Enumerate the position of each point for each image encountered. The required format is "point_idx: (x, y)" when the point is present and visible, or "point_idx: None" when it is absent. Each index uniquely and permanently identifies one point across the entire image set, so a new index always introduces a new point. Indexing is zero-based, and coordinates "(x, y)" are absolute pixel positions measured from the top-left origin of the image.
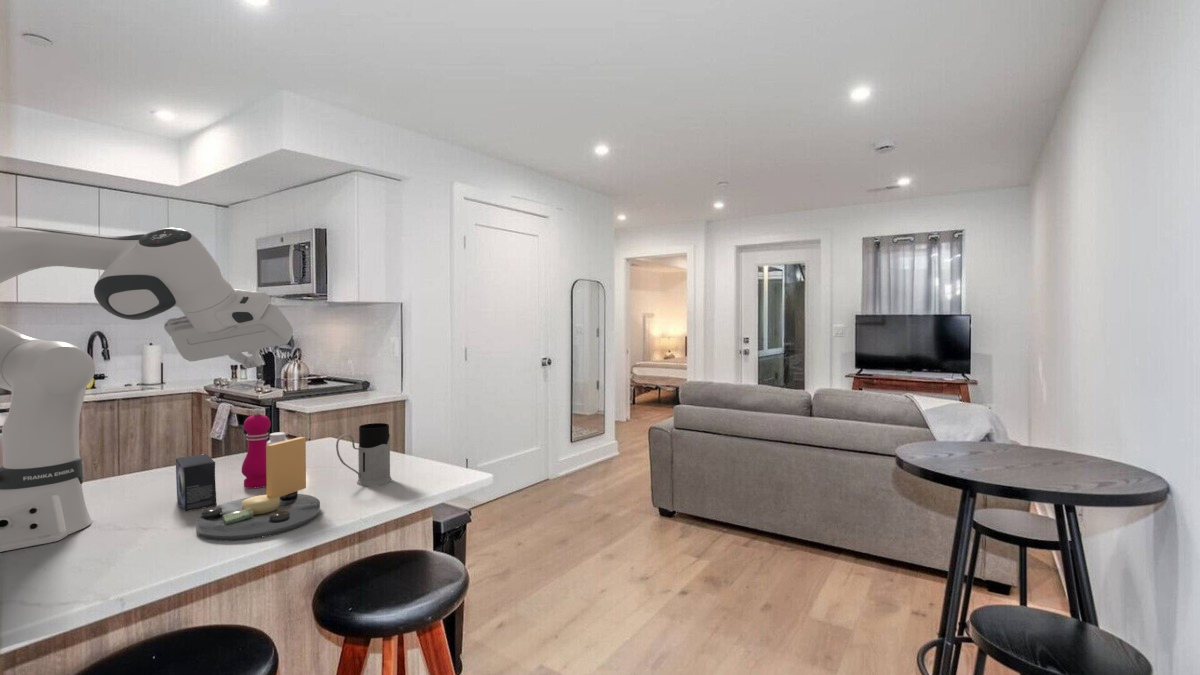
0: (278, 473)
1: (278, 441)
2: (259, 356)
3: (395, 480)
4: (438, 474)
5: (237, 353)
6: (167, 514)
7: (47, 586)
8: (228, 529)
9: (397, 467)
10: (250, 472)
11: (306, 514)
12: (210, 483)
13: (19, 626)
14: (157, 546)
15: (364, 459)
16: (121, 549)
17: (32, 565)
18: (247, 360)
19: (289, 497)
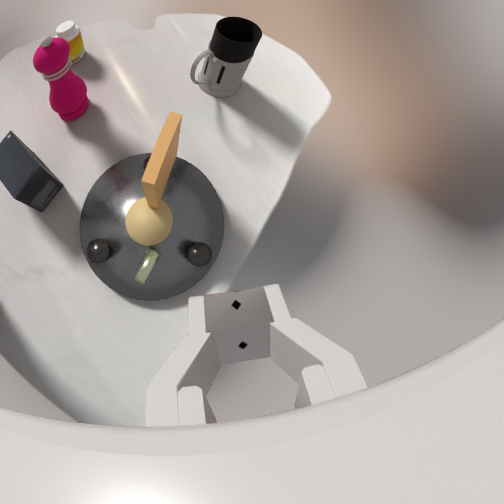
0: (160, 187)
1: (69, 36)
2: (286, 308)
3: (244, 79)
4: (284, 65)
5: (214, 420)
6: (30, 224)
7: (89, 410)
8: (157, 296)
9: None
10: (65, 111)
11: (222, 232)
12: (47, 180)
13: None
14: (94, 322)
15: (222, 72)
16: (66, 333)
17: (32, 372)
18: (233, 354)
19: None
